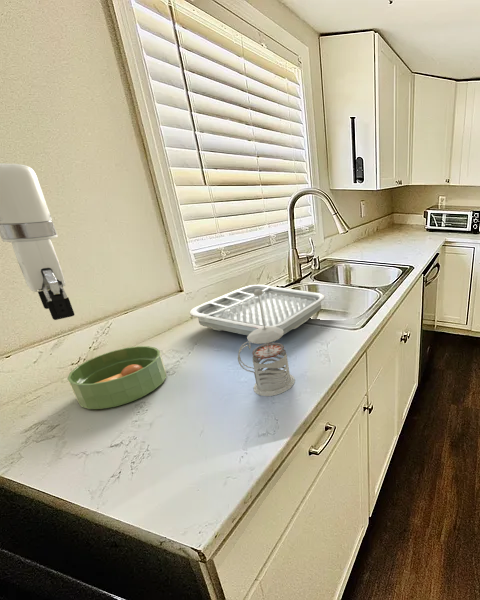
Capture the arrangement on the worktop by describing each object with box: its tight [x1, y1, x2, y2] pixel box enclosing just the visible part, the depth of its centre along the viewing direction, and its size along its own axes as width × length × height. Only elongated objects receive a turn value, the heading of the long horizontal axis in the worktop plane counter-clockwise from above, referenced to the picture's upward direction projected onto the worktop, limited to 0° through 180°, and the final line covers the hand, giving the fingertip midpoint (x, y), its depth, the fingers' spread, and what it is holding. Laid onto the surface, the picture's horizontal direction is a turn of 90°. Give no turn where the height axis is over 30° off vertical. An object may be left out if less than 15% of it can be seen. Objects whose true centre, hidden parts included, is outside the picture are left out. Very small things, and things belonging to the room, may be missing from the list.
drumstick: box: [96, 364, 143, 383], centre depth 78 cm, size 12×5×5 cm, turn 143°
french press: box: [237, 289, 296, 397], centre depth 76 cm, size 10×12×25 cm
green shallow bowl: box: [66, 345, 167, 410], centre depth 79 cm, size 17×17×7 cm
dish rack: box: [189, 284, 326, 336], centre depth 114 cm, size 32×37×8 cm
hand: (59, 312), depth 70 cm, fingers open, 9 cm apart
